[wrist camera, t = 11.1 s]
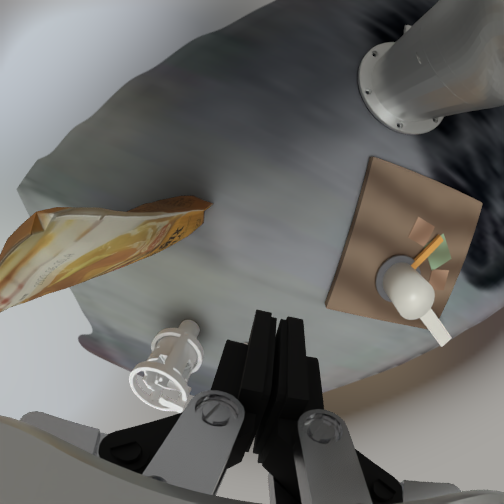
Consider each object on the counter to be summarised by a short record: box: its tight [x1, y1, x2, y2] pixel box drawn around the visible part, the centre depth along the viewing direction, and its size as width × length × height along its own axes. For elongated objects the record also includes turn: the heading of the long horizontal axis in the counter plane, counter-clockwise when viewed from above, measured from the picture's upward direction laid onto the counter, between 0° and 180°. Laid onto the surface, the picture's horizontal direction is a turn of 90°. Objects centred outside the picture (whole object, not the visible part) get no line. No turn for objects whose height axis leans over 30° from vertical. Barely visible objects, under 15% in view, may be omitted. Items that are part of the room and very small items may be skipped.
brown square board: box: [325, 157, 483, 329], centre depth 35 cm, size 20×18×2 cm
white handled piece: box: [375, 234, 451, 347], centre depth 32 cm, size 16×11×7 cm
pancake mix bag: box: [0, 196, 213, 312], centre depth 25 cm, size 7×19×28 cm, turn 113°
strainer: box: [129, 320, 204, 413], centre depth 35 cm, size 7×7×15 cm
